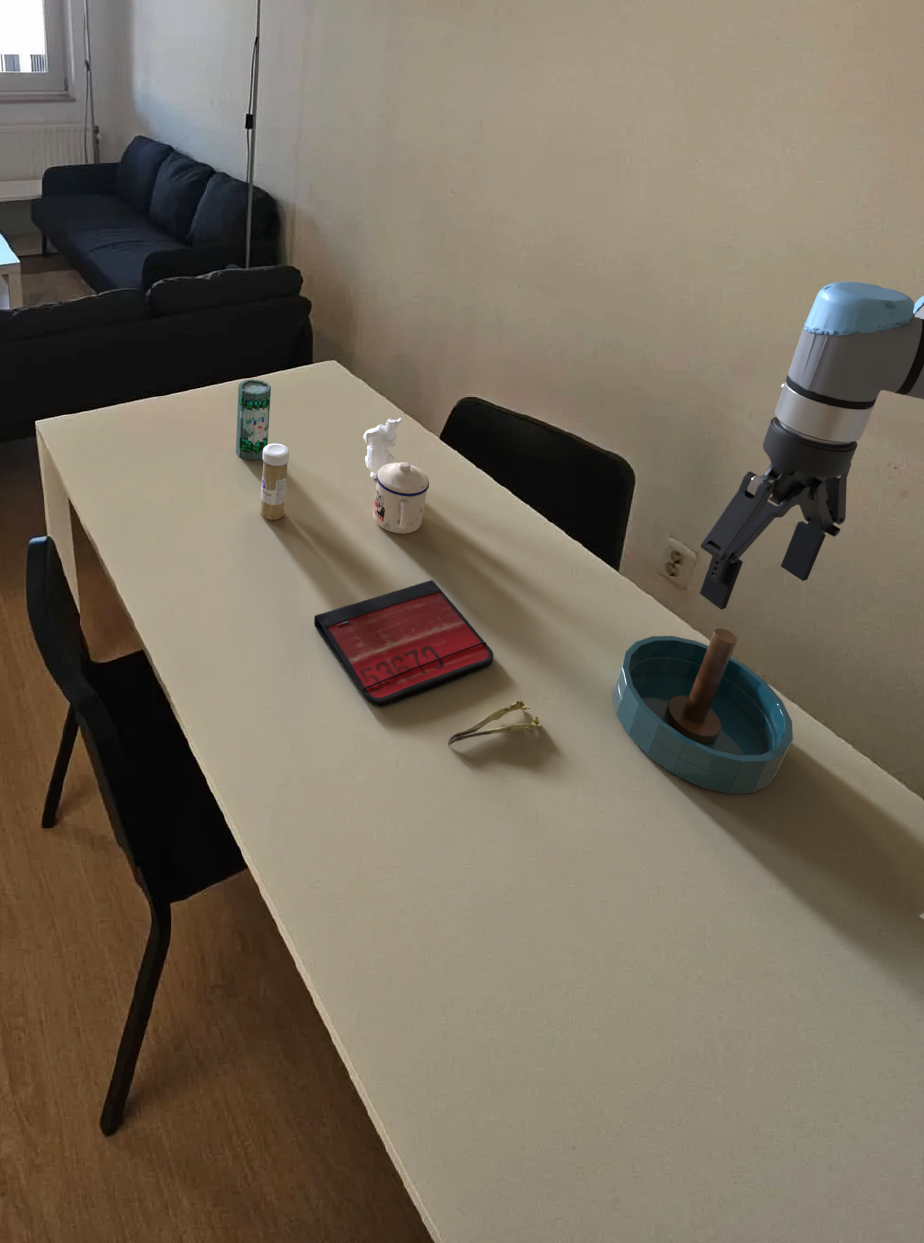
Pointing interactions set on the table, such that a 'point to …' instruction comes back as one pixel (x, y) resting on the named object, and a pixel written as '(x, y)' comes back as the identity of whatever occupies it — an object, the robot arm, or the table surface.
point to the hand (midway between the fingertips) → (754, 586)
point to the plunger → (703, 693)
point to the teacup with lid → (400, 497)
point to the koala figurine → (380, 445)
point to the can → (252, 418)
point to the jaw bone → (507, 729)
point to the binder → (403, 643)
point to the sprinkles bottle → (274, 481)
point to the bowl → (741, 703)
